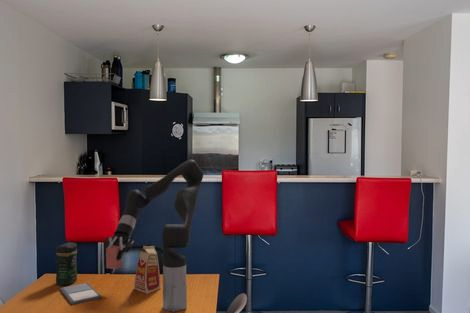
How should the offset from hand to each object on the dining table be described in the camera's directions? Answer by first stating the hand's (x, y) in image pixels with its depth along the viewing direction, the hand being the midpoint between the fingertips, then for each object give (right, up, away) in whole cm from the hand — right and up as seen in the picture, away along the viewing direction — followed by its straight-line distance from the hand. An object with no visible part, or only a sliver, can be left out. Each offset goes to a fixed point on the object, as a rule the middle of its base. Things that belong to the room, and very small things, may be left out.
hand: (111, 258), depth 179 cm
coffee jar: (-25, -14, +11) cm, 31 cm away
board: (-13, -15, -4) cm, 20 cm away
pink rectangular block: (0, -4, +2) cm, 5 cm away
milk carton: (+15, -15, +4) cm, 21 cm away
